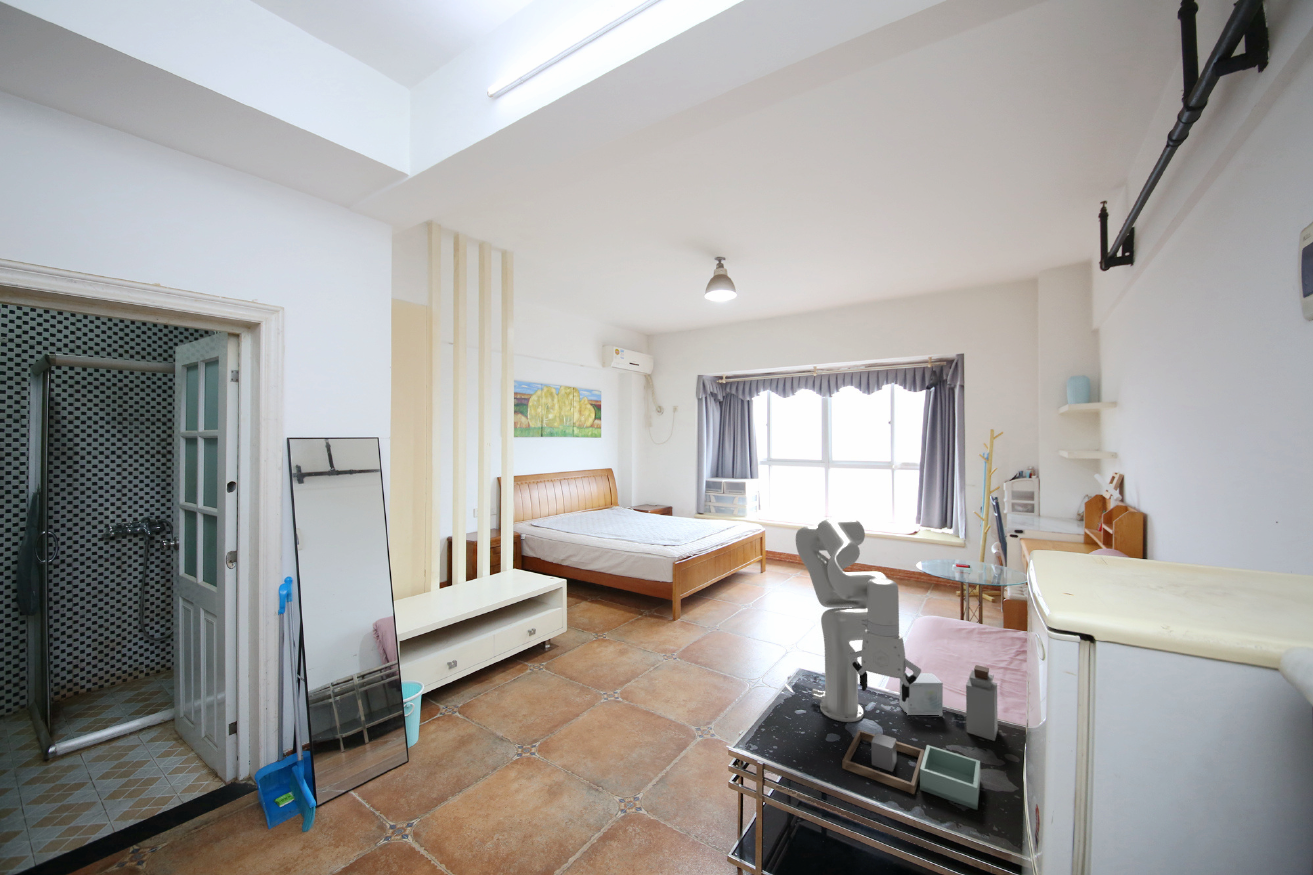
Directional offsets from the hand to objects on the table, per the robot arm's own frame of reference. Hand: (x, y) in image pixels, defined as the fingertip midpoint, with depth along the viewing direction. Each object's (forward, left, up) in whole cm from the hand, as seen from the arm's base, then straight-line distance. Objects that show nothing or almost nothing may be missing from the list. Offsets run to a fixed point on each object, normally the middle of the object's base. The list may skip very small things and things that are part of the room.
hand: (884, 694), depth 131 cm
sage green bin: (+15, 0, -18) cm, 23 cm away
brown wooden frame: (0, 0, -18) cm, 18 cm away
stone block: (0, 0, -18) cm, 18 cm away
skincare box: (+4, +33, -18) cm, 38 cm away
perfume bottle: (+20, +31, -18) cm, 41 cm away
